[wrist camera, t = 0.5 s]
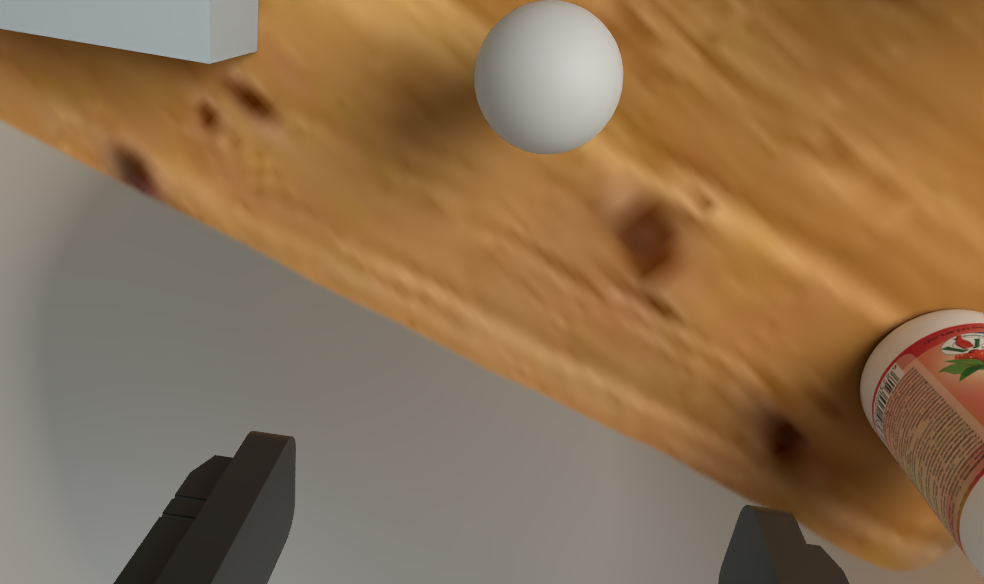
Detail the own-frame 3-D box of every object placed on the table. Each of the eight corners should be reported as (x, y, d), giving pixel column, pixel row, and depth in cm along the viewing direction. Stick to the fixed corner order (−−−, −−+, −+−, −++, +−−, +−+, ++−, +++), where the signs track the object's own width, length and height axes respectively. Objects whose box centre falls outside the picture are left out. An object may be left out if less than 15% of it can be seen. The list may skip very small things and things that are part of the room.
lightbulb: (506, 133, 39) (494, 187, 29) (472, 16, 37) (446, 31, 27) (619, 100, 38) (646, 146, 28) (591, -22, 36) (610, -20, 26)
